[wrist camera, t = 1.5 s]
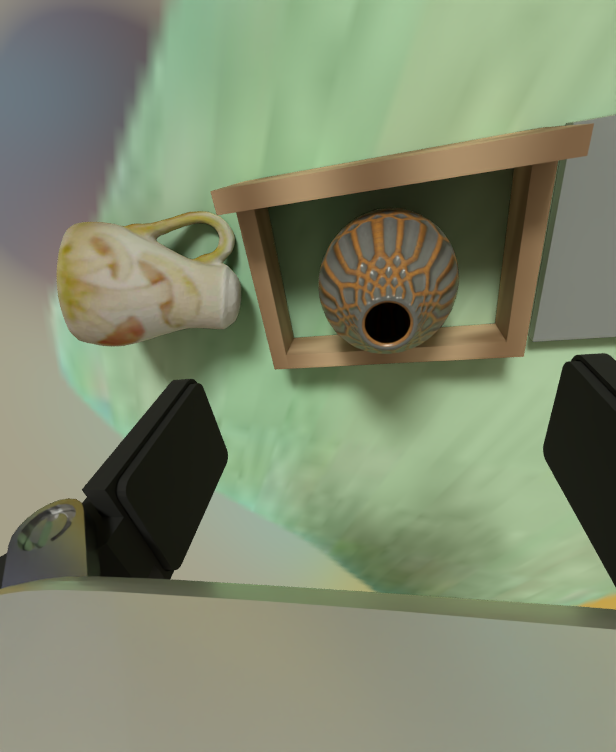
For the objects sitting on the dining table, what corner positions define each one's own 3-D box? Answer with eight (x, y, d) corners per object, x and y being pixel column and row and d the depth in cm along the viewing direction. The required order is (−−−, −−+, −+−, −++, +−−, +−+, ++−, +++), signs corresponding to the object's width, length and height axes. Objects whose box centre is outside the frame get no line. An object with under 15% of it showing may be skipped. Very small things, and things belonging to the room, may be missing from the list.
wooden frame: (542, 127, 17) (594, 123, 13) (510, 336, 23) (539, 380, 18) (244, 181, 20) (210, 191, 16) (283, 351, 26) (264, 390, 22)
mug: (261, 335, 26) (137, 416, 20) (175, 272, 29) (46, 326, 23) (269, 240, 20) (100, 314, 15) (161, 174, 23) (-14, 214, 18)
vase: (341, 325, 24) (325, 404, 17) (314, 218, 21) (279, 259, 14) (450, 304, 22) (484, 383, 15) (440, 182, 19) (477, 208, 12)
